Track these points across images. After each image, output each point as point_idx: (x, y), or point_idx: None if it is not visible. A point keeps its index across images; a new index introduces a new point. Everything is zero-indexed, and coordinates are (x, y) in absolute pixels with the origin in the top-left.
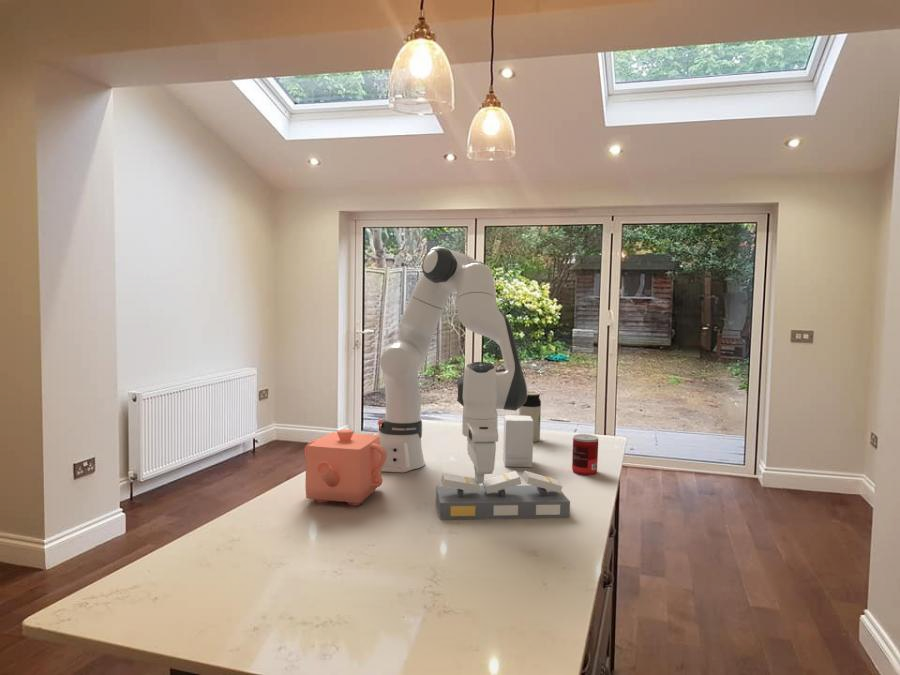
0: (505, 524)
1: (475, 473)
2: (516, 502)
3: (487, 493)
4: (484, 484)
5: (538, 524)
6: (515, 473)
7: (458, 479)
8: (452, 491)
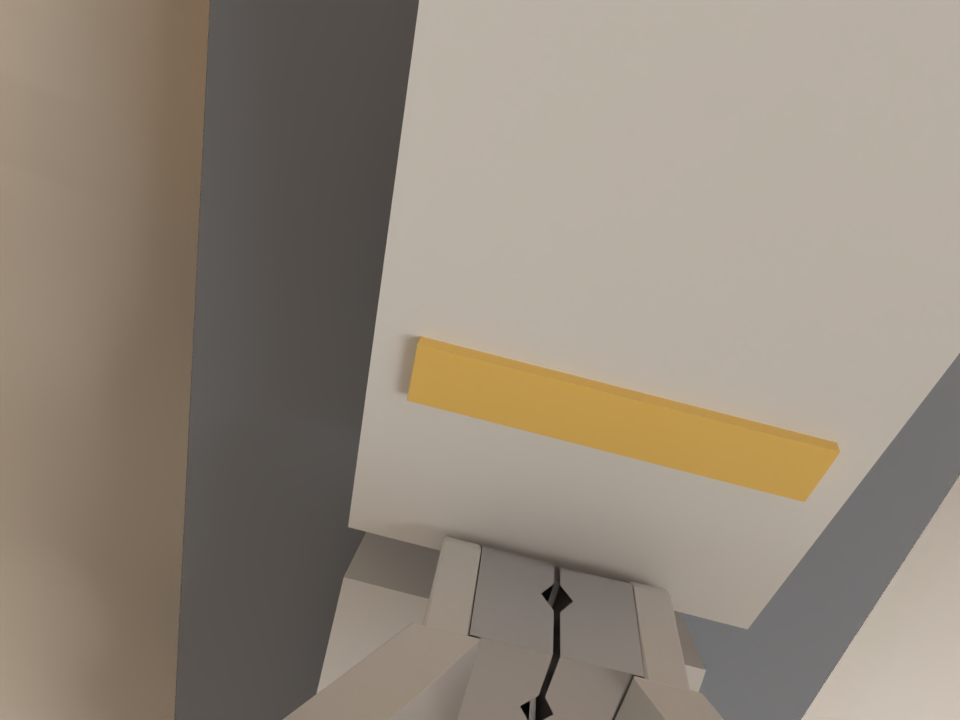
0: (109, 432)
1: (631, 681)
2: (176, 684)
3: (366, 537)
4: None
5: (100, 641)
6: None
7: (603, 214)
8: None
